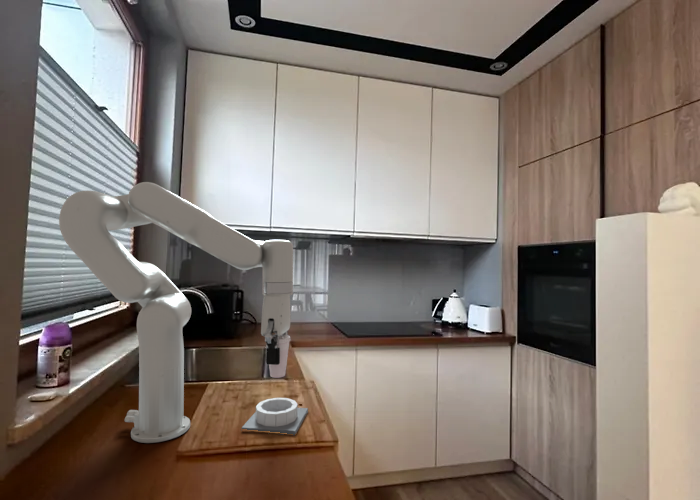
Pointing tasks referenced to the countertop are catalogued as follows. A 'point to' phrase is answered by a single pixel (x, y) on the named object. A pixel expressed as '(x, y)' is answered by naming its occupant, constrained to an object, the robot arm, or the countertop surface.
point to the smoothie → (280, 369)
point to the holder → (277, 416)
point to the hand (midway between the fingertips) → (277, 359)
